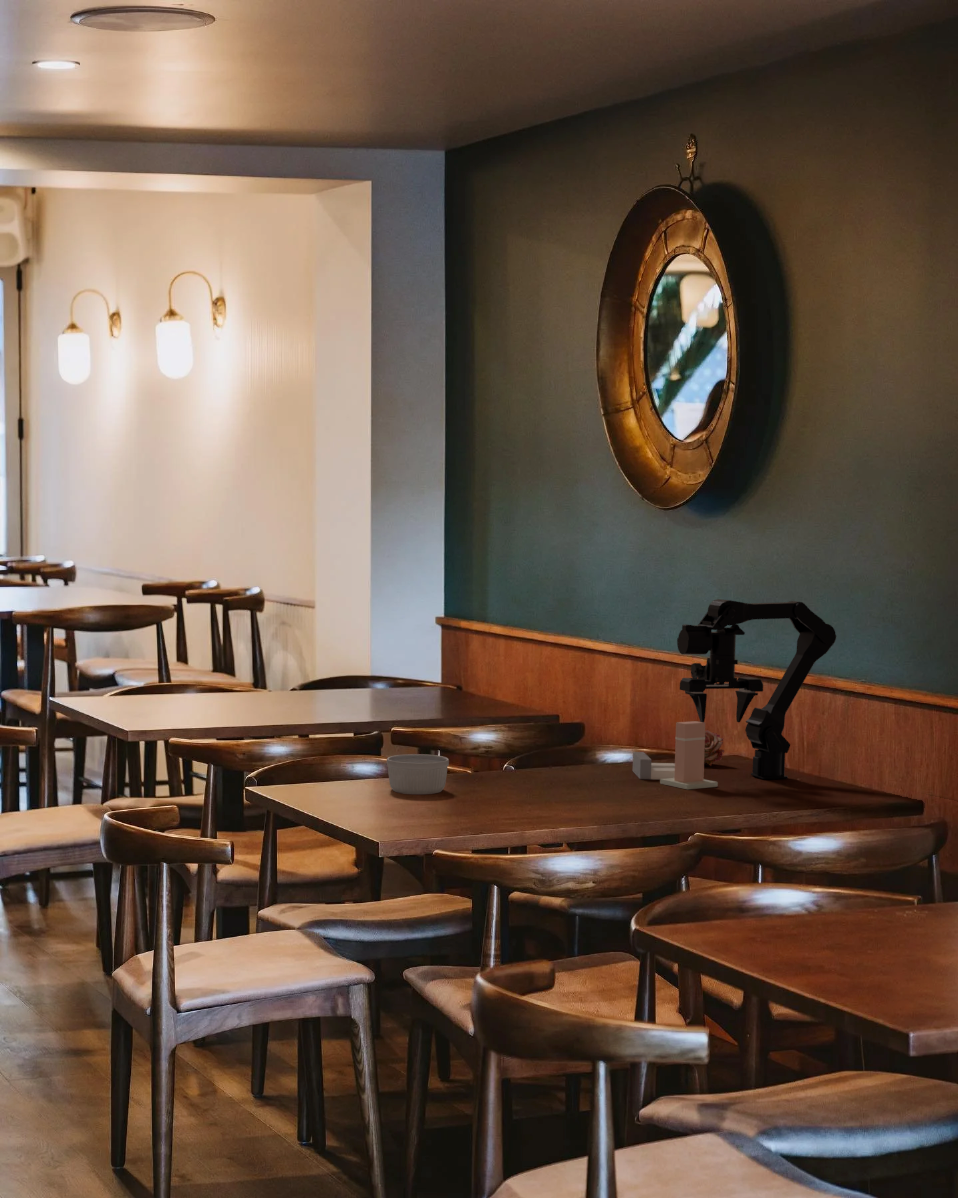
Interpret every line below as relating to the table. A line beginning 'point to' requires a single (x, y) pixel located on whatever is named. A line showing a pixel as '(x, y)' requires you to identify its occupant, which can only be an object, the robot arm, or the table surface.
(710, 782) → the pad
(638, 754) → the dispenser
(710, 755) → the flower
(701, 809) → the table surface
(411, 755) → the ramekin
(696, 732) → the banded beige post
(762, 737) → the robot arm
